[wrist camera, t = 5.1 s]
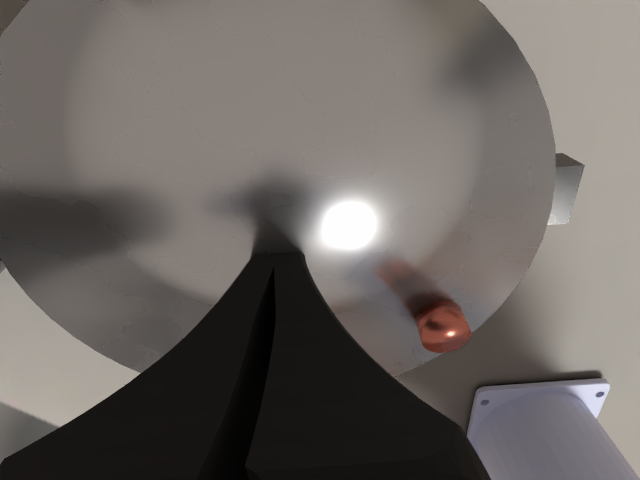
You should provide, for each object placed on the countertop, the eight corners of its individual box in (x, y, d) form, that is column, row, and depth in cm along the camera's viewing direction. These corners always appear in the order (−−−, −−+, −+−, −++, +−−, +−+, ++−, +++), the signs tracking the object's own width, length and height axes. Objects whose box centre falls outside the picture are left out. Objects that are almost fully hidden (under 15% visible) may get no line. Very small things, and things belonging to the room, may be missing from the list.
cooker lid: (475, 358, 16) (494, 405, 14) (119, 383, 15) (101, 433, 14) (685, -271, 6) (816, -333, 4) (-266, -223, 6) (-462, -270, 4)
